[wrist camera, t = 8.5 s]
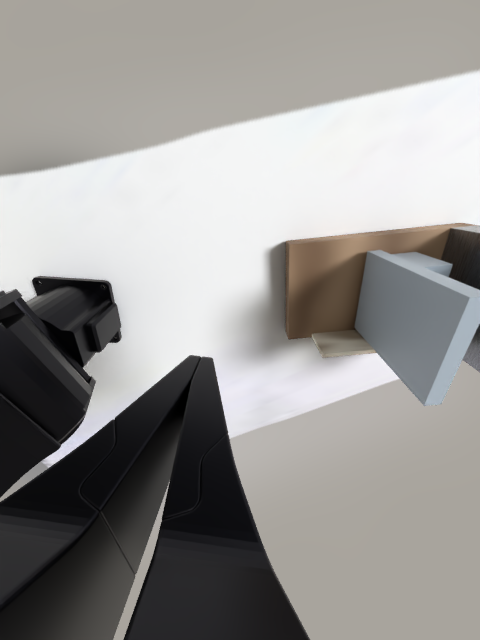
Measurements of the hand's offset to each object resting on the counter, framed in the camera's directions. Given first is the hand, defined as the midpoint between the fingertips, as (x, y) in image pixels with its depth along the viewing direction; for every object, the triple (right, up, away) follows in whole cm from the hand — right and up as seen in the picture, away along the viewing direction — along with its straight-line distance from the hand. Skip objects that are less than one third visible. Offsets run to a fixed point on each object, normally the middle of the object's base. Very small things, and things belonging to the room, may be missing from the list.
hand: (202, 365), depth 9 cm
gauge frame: (+13, +5, +13) cm, 19 cm away
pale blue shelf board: (+14, +3, +12) cm, 19 cm away
